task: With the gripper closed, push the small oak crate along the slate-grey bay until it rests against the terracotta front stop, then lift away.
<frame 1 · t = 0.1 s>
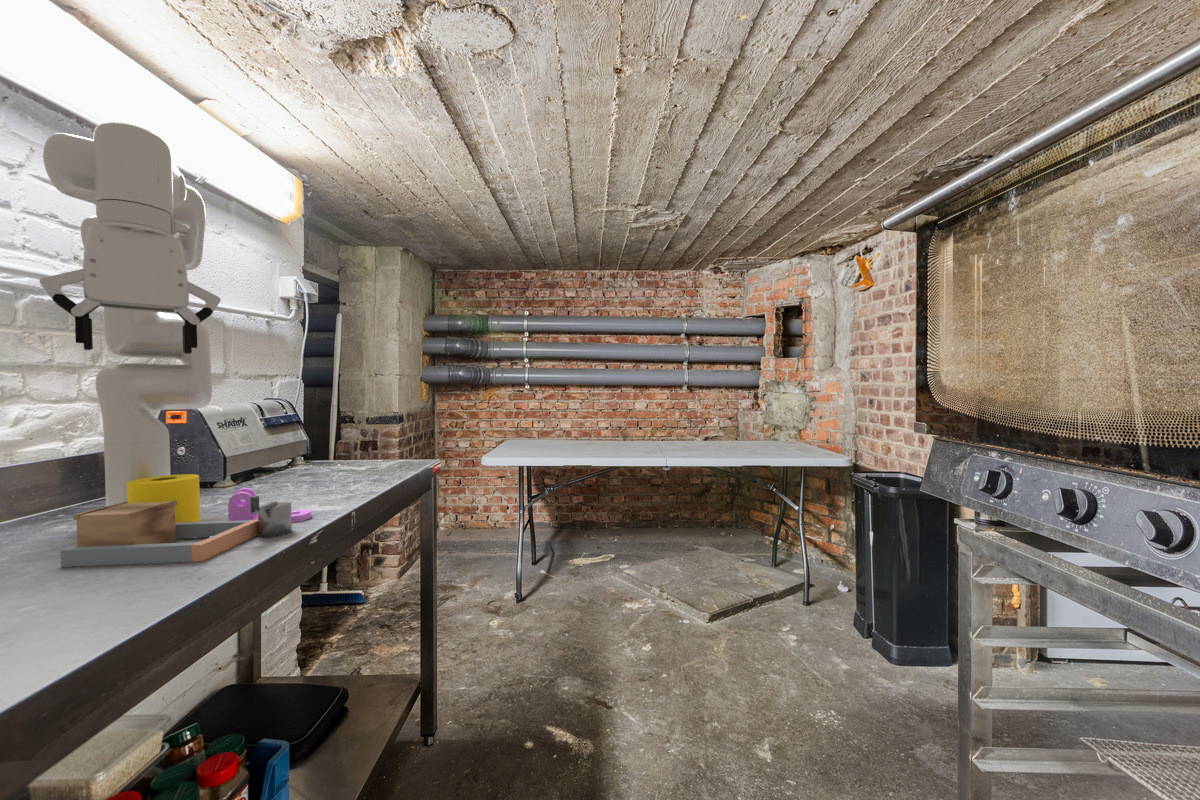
hand: (140, 351, 64), 31 cm above the table, tool pointing down, fingers open, 9 cm apart
bracket: (272, 523, 93), on the table
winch: (275, 532, 85), on the table
bay: (165, 548, 77), on the table
crate: (129, 551, 77), on the table
tape roll: (165, 529, 89), on the table
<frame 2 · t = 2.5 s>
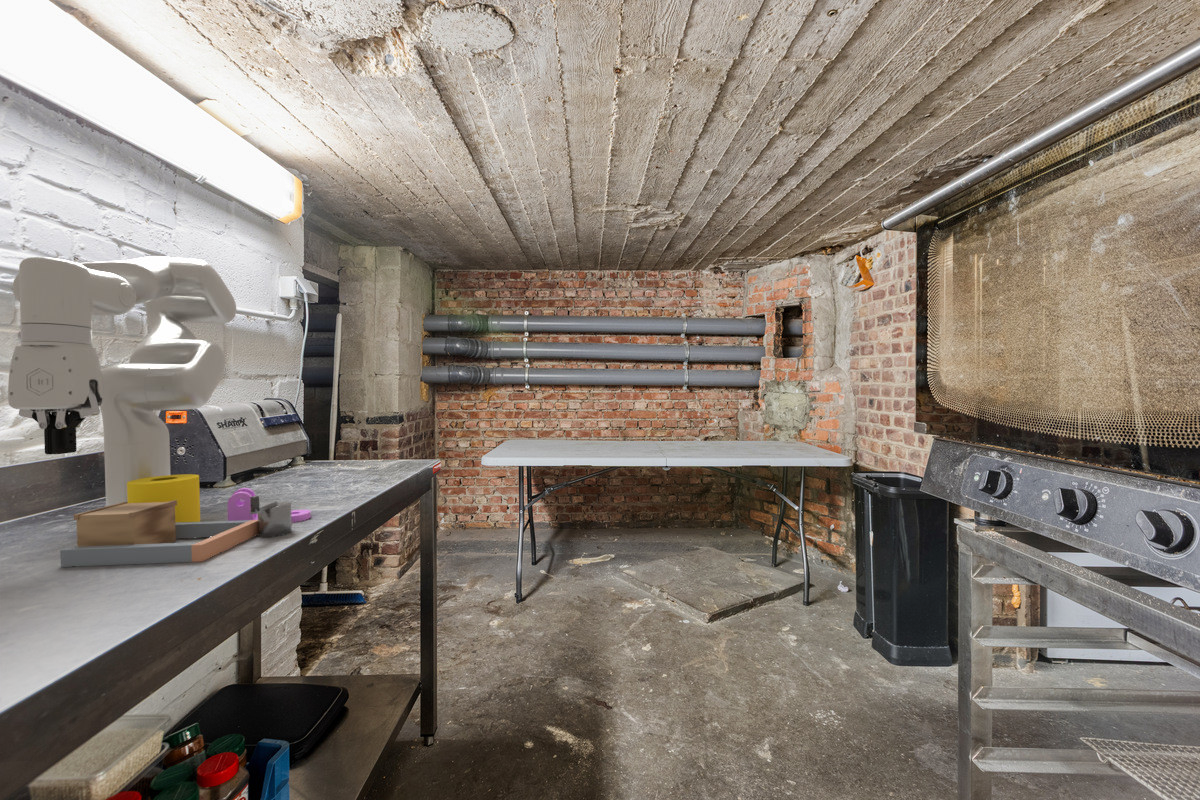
hand: (61, 453, 75), 16 cm above the table, tool pointing down, fingers closed
nothing on the table moved.
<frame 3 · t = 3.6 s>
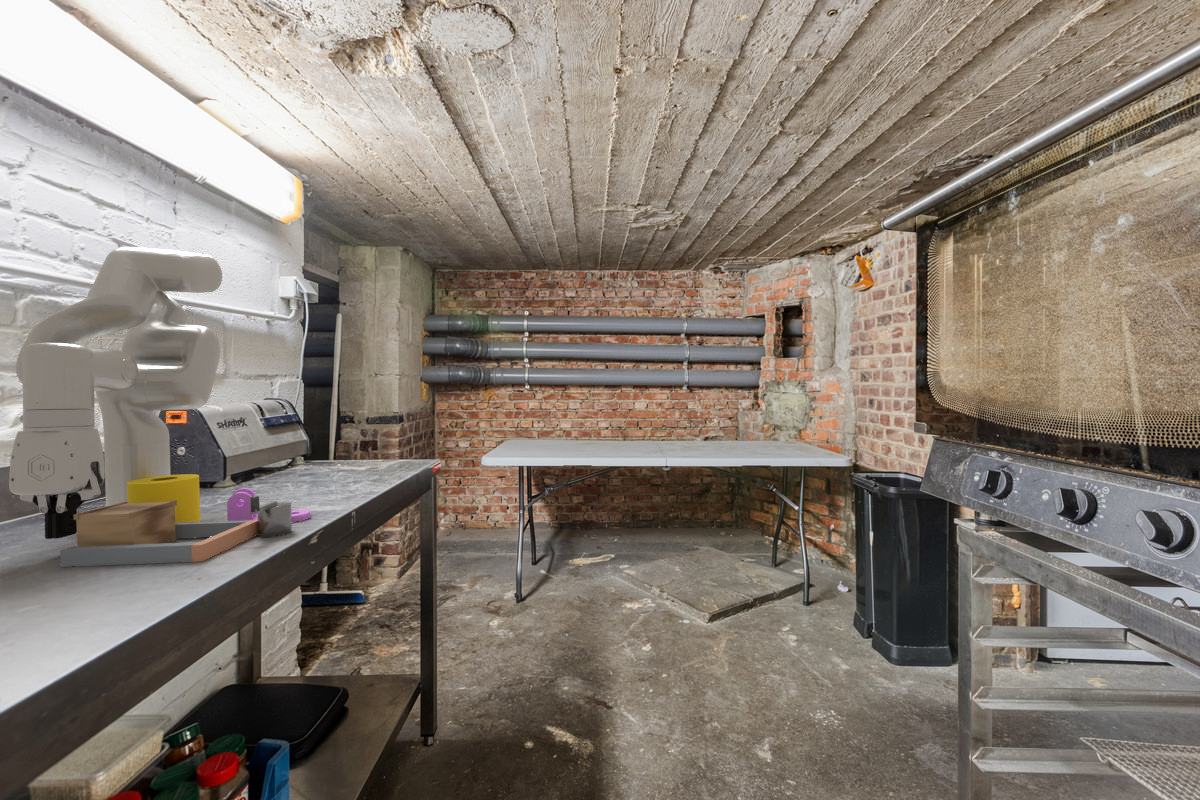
hand: (61, 536, 75), 3 cm above the table, tool pointing down, fingers closed
nothing on the table moved.
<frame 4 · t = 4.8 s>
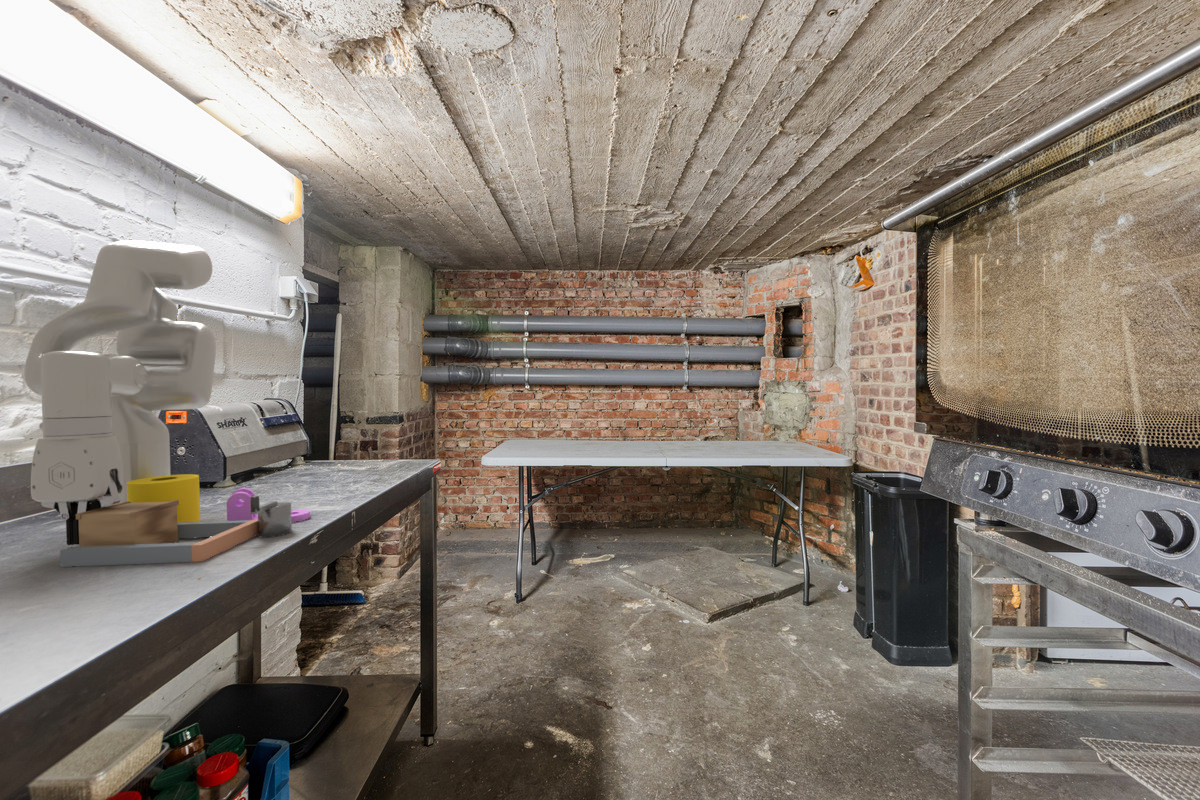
hand: (82, 541, 76), 2 cm above the table, tool pointing down, fingers closed
crate: (131, 550, 77), on the table, touching gripper
everything else where it was.
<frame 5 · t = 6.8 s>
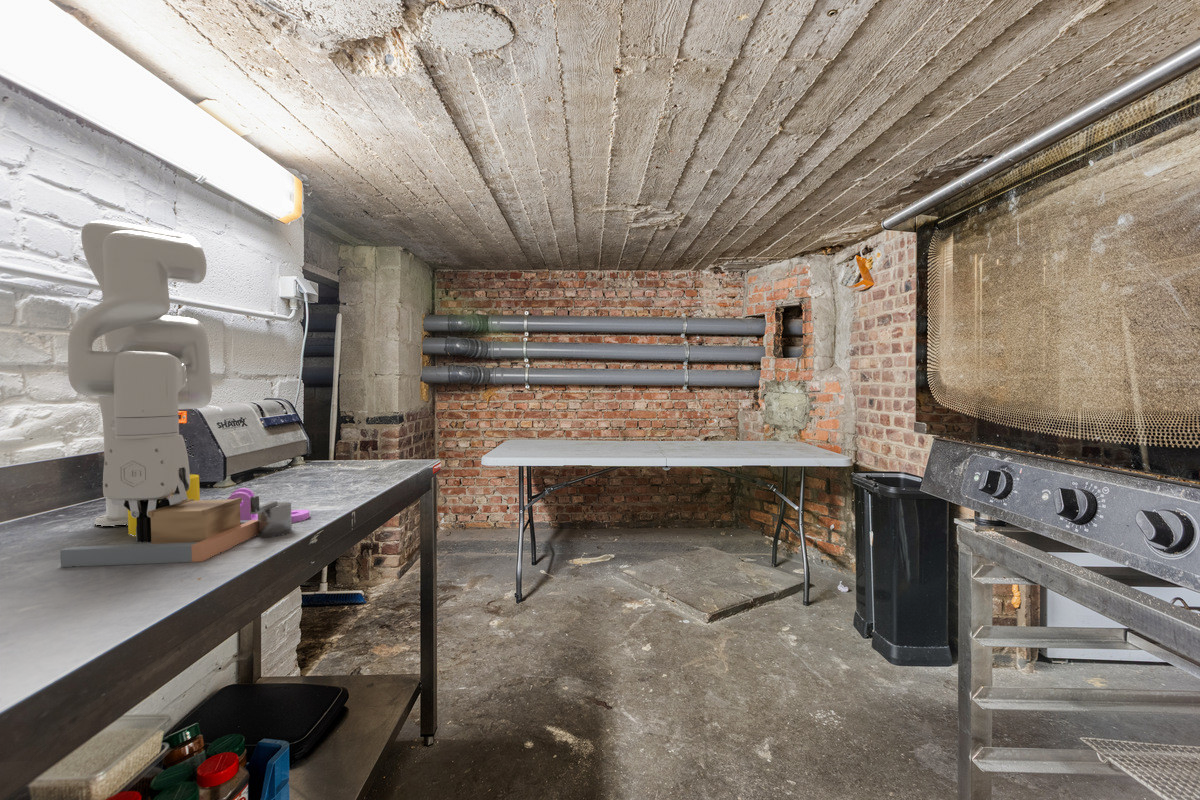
hand: (151, 539, 77), 2 cm above the table, tool pointing down, fingers closed
crate: (198, 547, 78), on the table, touching bay, gripper
everything else where it was.
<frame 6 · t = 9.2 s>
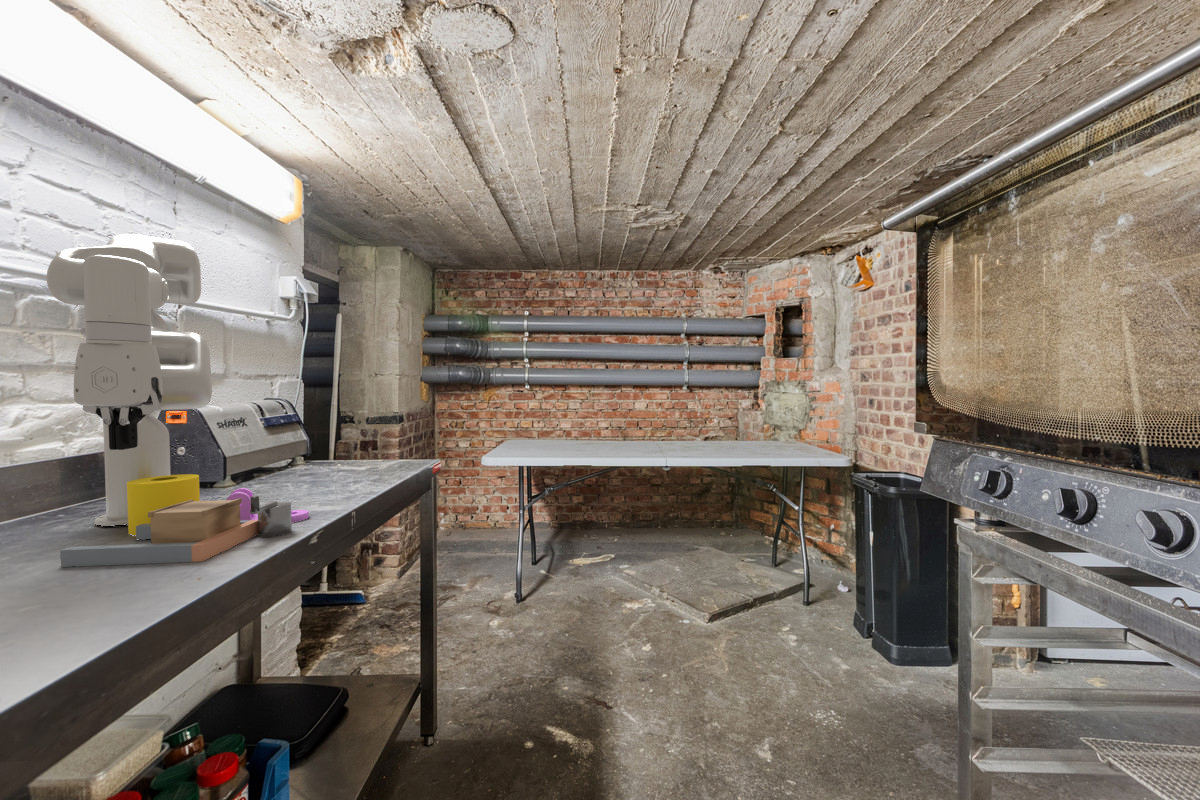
hand: (123, 448, 77), 17 cm above the table, tool pointing down, fingers closed
crate: (198, 548, 78), on the table
everything else where it was.
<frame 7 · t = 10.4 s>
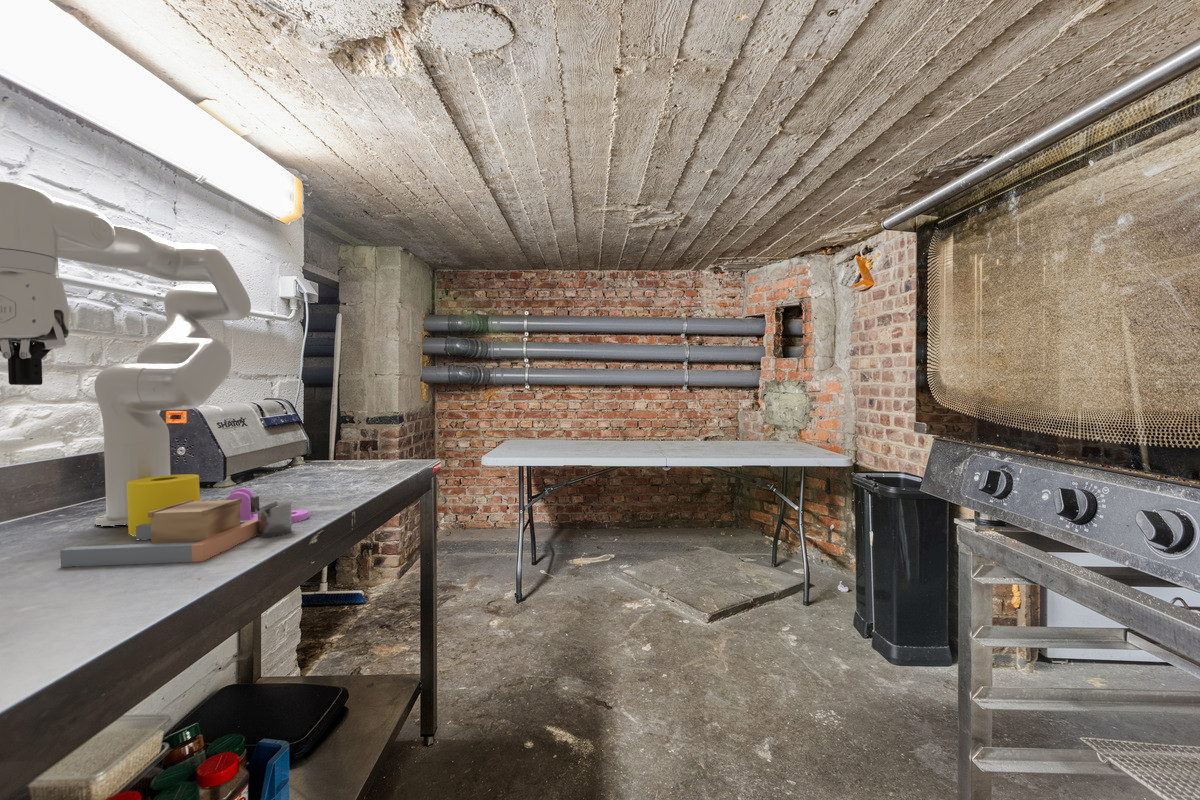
hand: (26, 384, 74), 27 cm above the table, tool pointing down, fingers closed
nothing on the table moved.
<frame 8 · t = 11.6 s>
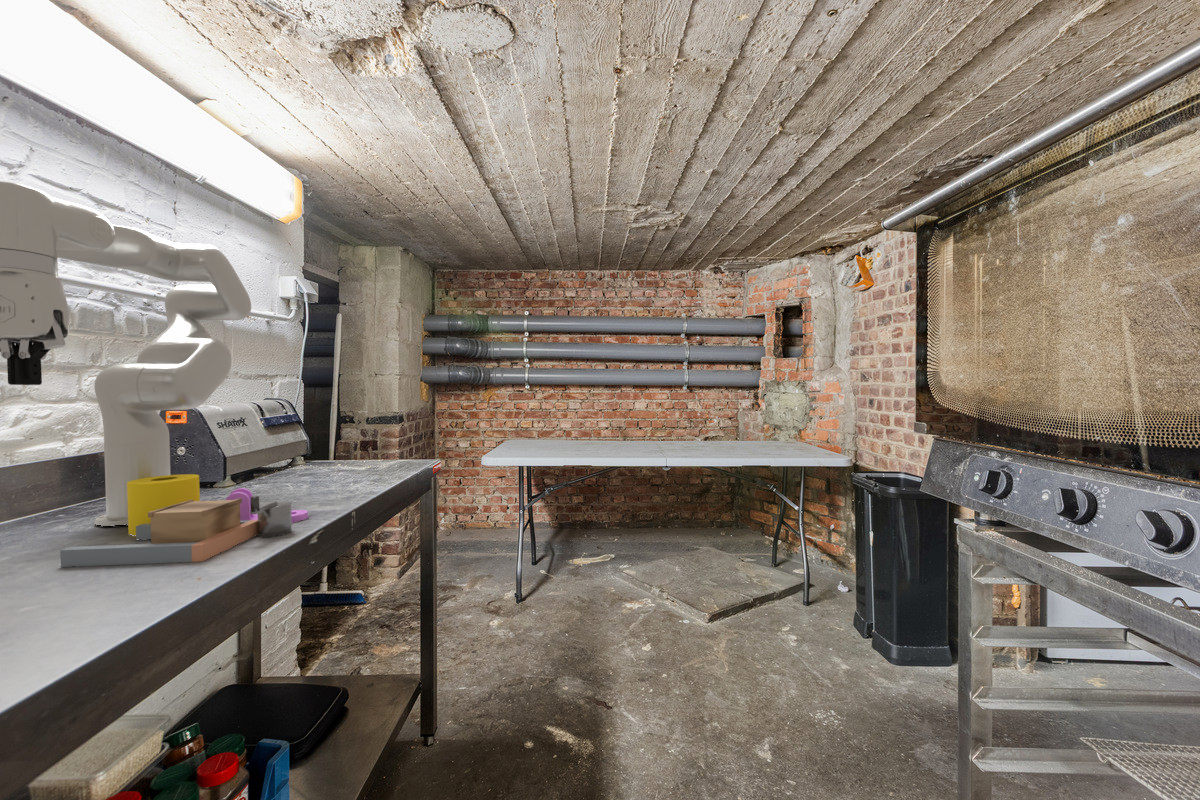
hand: (25, 384, 74), 27 cm above the table, tool pointing down, fingers closed
nothing on the table moved.
at the end: crate inside the target area on the bay (0.2 cm from its centre), point 0.0 cm above the bay's base; crate moved 10.5 cm from its start; crate tilted 0° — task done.
